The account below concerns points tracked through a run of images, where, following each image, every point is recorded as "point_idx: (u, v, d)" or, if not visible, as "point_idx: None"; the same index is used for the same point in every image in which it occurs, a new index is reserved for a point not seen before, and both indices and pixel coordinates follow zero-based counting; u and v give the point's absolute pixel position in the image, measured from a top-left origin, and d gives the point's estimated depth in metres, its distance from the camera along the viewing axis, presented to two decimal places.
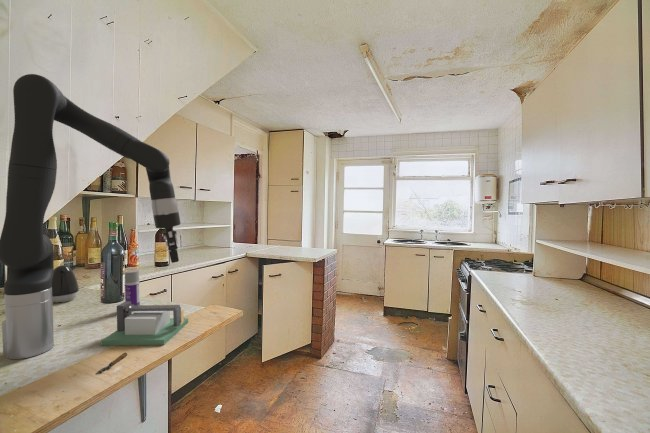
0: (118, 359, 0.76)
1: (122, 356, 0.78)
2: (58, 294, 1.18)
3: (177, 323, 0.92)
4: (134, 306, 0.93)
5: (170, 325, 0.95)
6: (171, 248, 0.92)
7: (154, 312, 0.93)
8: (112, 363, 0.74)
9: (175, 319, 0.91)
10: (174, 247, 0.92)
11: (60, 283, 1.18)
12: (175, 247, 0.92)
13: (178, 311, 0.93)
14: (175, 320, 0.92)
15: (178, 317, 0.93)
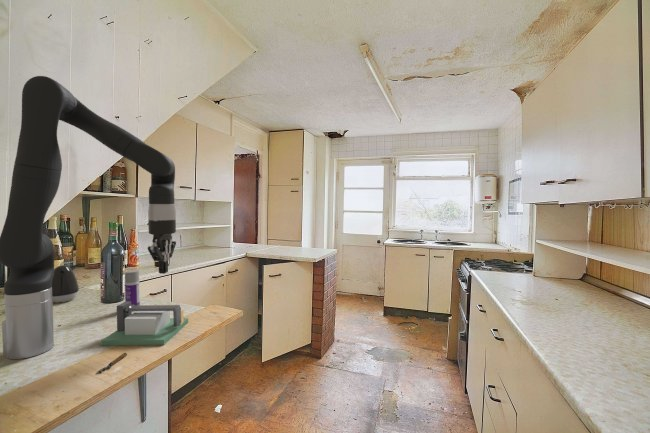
0: (118, 359, 0.76)
1: (122, 356, 0.78)
2: (58, 294, 1.18)
3: (177, 323, 0.92)
4: (134, 306, 0.93)
5: (170, 325, 0.95)
6: (156, 259, 0.89)
7: (154, 312, 0.93)
8: (112, 363, 0.74)
9: (174, 319, 0.91)
10: (159, 258, 0.89)
11: (60, 283, 1.18)
12: (160, 259, 0.89)
13: (178, 311, 0.93)
14: (175, 320, 0.92)
15: (178, 317, 0.93)
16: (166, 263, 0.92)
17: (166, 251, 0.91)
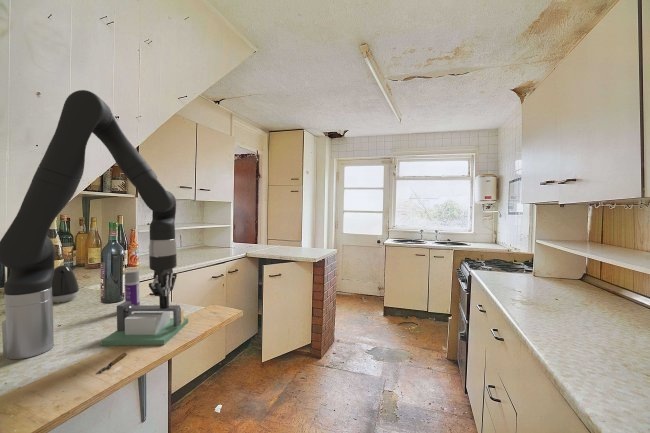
0: (118, 359, 0.76)
1: (122, 356, 0.78)
2: (58, 294, 1.18)
3: (177, 323, 0.92)
4: (134, 306, 0.93)
5: (170, 325, 0.95)
6: (157, 294, 0.89)
7: (154, 312, 0.93)
8: (112, 363, 0.74)
9: (174, 319, 0.91)
10: (160, 294, 0.89)
11: (60, 283, 1.18)
12: (161, 294, 0.89)
13: (178, 311, 0.93)
14: (175, 320, 0.92)
15: (178, 317, 0.93)
16: (167, 297, 0.92)
17: (167, 286, 0.91)
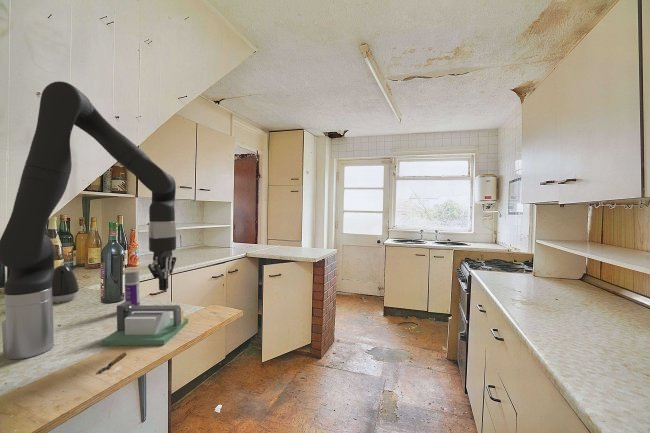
0: (117, 359, 0.76)
1: (121, 356, 0.78)
2: (58, 294, 1.18)
3: (177, 323, 0.92)
4: (134, 306, 0.93)
5: (170, 325, 0.95)
6: (156, 276, 0.89)
7: (154, 312, 0.93)
8: (112, 363, 0.74)
9: (174, 319, 0.91)
10: (159, 276, 0.89)
11: (60, 283, 1.18)
12: (160, 276, 0.89)
13: (178, 311, 0.93)
14: (175, 320, 0.92)
15: (178, 317, 0.93)
16: (166, 280, 0.92)
17: (166, 268, 0.91)
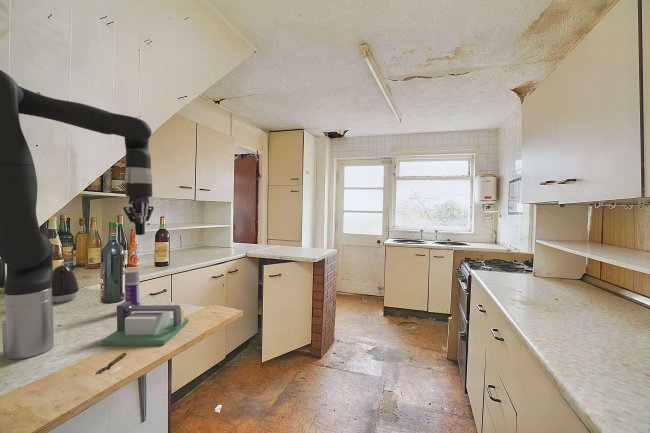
0: (117, 359, 0.76)
1: (121, 356, 0.78)
2: (58, 294, 1.18)
3: (177, 323, 0.92)
4: (134, 306, 0.93)
5: (170, 325, 0.95)
6: (132, 220, 0.93)
7: (154, 312, 0.93)
8: (112, 363, 0.74)
9: (174, 319, 0.91)
10: (135, 219, 0.93)
11: (60, 283, 1.18)
12: (136, 220, 0.93)
13: (178, 311, 0.93)
14: (175, 320, 0.92)
15: (178, 317, 0.93)
16: (143, 225, 0.96)
17: (142, 213, 0.95)
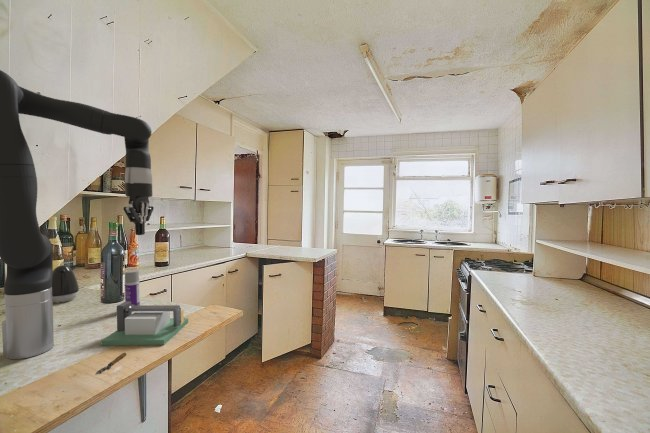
0: (117, 359, 0.76)
1: (121, 356, 0.78)
2: (58, 294, 1.18)
3: (177, 323, 0.92)
4: (134, 306, 0.93)
5: (170, 325, 0.95)
6: (132, 220, 0.93)
7: (154, 312, 0.93)
8: (111, 363, 0.74)
9: (174, 319, 0.91)
10: (135, 219, 0.93)
11: (60, 283, 1.18)
12: (136, 220, 0.93)
13: (178, 311, 0.93)
14: (175, 320, 0.92)
15: (178, 317, 0.93)
16: (143, 225, 0.96)
17: (142, 213, 0.95)
